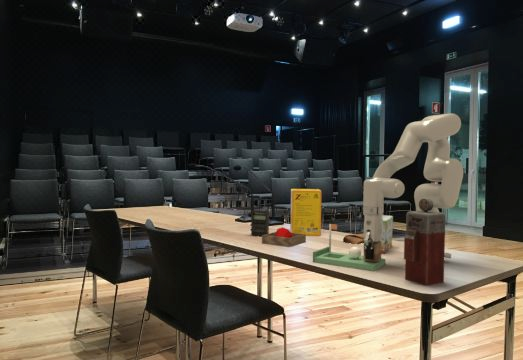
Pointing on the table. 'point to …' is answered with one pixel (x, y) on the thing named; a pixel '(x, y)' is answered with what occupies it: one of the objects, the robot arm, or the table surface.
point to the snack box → (387, 233)
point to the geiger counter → (259, 223)
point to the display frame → (284, 239)
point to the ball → (355, 252)
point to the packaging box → (306, 211)
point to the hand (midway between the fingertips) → (372, 257)
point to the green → (343, 257)
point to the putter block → (375, 252)
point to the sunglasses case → (354, 239)
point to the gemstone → (283, 233)
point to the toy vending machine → (424, 245)
